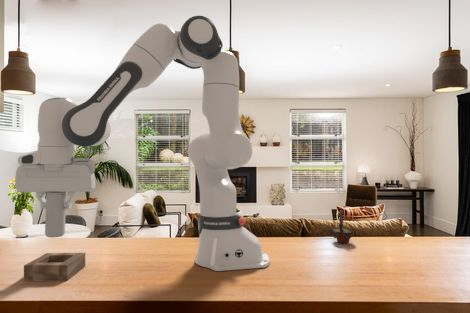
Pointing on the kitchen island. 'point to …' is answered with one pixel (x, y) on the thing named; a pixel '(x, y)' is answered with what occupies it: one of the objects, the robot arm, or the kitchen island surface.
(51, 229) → the beverage can
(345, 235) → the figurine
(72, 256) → the walnut holder
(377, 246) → the kitchen island surface
